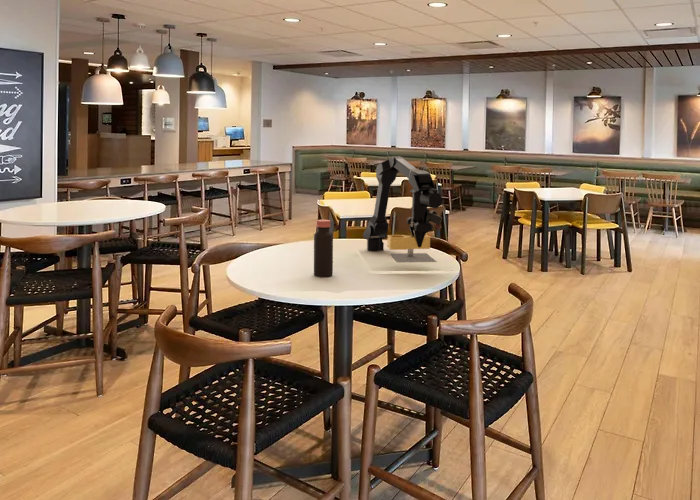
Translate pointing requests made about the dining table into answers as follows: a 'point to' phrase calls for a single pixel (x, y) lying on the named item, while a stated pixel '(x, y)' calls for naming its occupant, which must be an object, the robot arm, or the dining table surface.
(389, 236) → the tan long block
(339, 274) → the dining table surface
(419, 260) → the stand
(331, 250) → the bottle
